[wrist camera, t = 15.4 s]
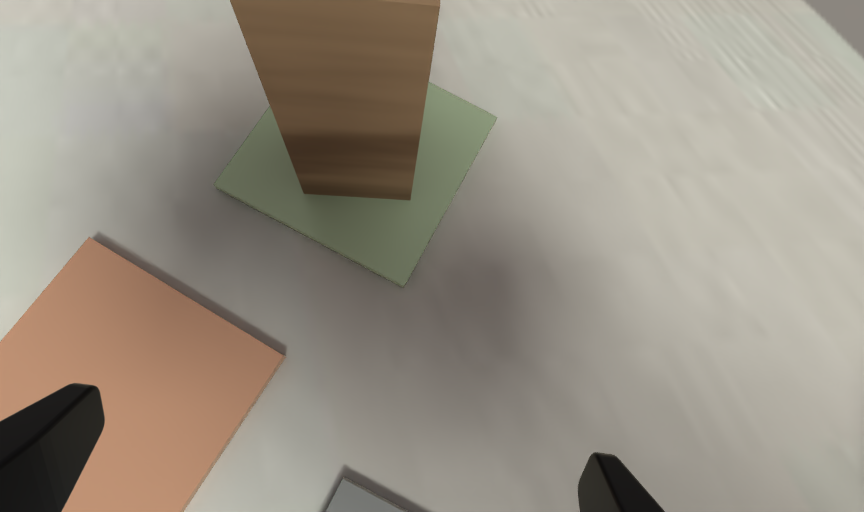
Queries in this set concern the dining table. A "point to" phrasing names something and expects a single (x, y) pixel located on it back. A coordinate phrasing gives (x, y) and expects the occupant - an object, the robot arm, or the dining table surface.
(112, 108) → the dining table surface
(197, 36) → the dining table surface
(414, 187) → the sage green tile
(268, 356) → the terracotta tile
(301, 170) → the walnut block
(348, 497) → the slate grey tile
